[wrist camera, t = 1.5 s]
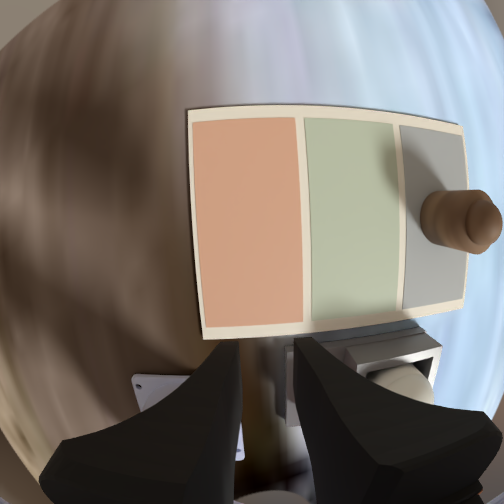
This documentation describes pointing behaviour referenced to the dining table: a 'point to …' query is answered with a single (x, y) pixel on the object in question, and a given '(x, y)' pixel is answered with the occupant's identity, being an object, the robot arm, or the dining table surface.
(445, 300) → the game board
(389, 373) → the dome
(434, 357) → the grey open box
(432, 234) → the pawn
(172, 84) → the dining table surface
